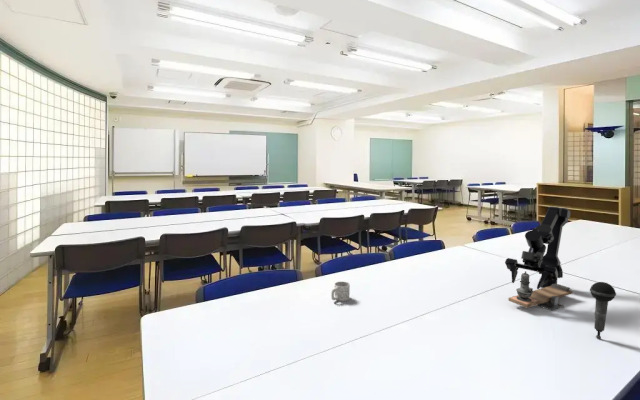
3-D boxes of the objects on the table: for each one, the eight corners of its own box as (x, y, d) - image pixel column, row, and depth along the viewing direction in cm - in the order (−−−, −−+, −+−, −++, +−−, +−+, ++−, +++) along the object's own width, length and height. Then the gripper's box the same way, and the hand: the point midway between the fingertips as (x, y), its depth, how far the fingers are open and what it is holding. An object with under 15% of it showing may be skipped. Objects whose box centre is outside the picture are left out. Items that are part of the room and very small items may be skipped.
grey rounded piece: (515, 295, 144) (516, 268, 143) (531, 297, 141) (533, 270, 140) (516, 300, 139) (517, 272, 138) (532, 303, 136) (534, 274, 135)
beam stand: (530, 295, 154) (531, 285, 153) (563, 307, 141) (564, 296, 141) (519, 298, 150) (519, 288, 150) (552, 310, 138) (553, 300, 137)
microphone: (584, 331, 121) (589, 277, 119) (610, 337, 117) (615, 281, 115) (586, 340, 115) (591, 283, 113) (612, 346, 111) (618, 287, 109)
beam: (553, 287, 156) (553, 282, 156) (572, 293, 149) (573, 288, 149) (508, 300, 142) (508, 295, 142) (527, 307, 135) (527, 302, 135)
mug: (341, 294, 156) (341, 280, 155) (352, 298, 151) (352, 284, 150) (326, 300, 149) (326, 286, 148) (337, 305, 144) (337, 290, 143)
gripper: (507, 240, 148) (496, 269, 142) (558, 248, 134) (547, 281, 128) (513, 254, 154) (502, 283, 148) (562, 263, 140) (552, 295, 134)
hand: (524, 285), depth 140 cm, fingers open, 9 cm apart
